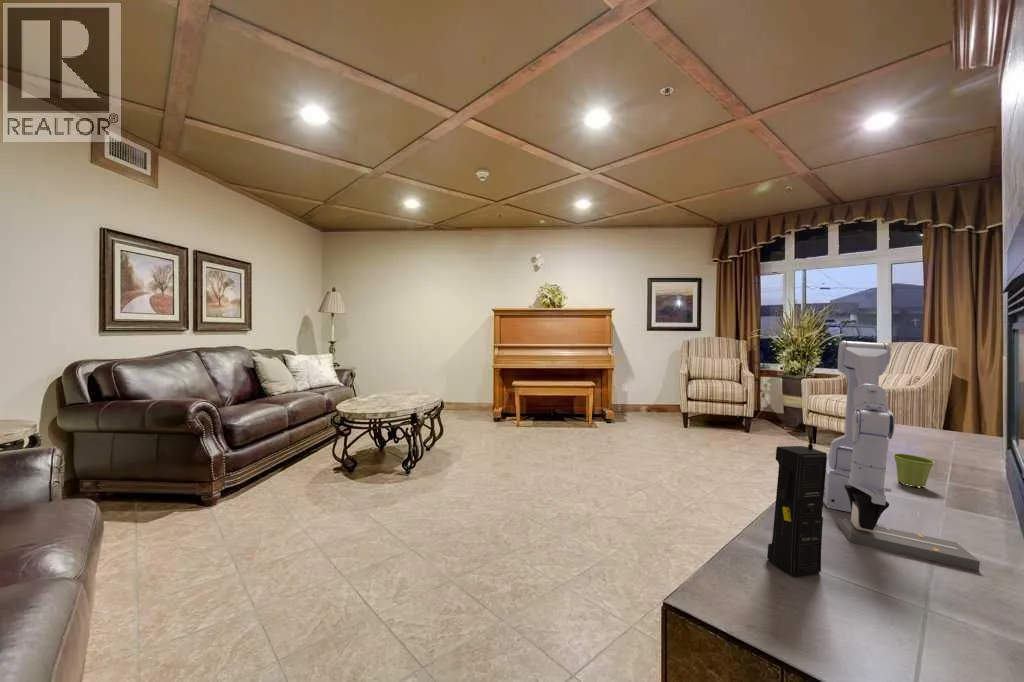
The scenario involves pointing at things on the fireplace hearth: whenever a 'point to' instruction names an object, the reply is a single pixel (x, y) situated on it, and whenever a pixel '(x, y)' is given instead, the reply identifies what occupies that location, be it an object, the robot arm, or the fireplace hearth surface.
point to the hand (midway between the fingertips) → (862, 523)
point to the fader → (857, 518)
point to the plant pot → (912, 469)
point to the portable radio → (798, 510)
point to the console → (911, 545)
